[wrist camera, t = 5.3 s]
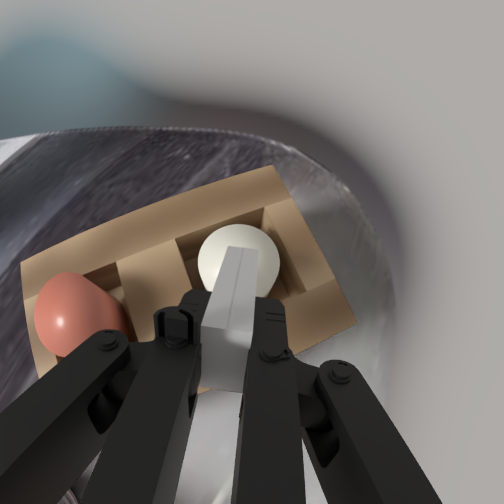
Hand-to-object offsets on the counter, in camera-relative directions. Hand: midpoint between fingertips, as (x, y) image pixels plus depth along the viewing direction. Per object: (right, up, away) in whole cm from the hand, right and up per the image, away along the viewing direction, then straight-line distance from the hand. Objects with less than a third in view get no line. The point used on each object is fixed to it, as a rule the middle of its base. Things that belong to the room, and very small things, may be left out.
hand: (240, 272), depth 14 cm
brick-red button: (-9, -4, +2) cm, 10 cm away
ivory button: (0, -1, +6) cm, 6 cm away
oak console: (-5, -5, +10) cm, 12 cm away
